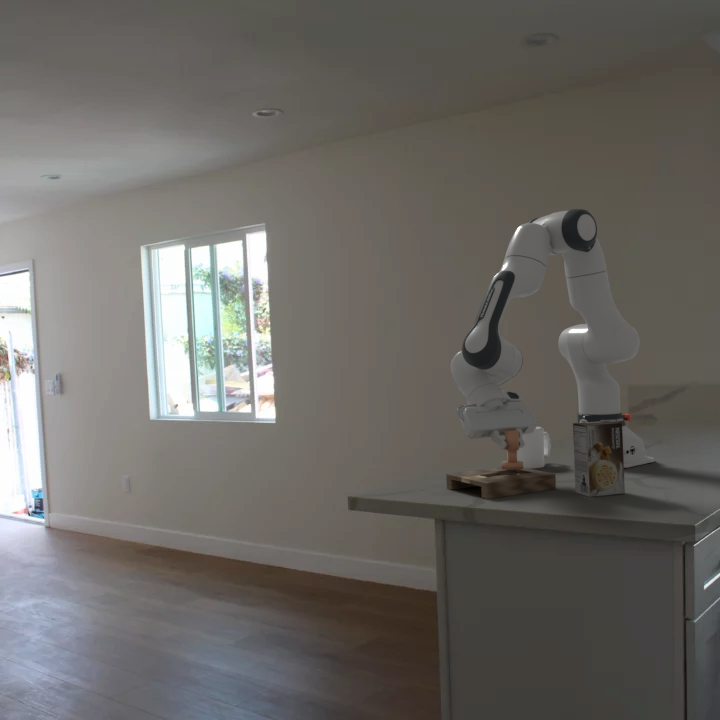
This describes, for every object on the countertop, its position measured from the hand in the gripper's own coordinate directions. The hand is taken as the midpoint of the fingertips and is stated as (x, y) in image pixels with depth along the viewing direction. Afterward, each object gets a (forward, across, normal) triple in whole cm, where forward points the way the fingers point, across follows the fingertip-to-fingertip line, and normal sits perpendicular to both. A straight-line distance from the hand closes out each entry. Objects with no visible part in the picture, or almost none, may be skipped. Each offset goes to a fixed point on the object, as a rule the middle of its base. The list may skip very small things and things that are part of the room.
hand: (513, 447), depth 192 cm
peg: (+3, 0, +4) cm, 5 cm away
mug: (-10, +24, +24) cm, 35 cm away
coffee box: (+19, +10, -5) cm, 22 cm away
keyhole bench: (+6, -4, +7) cm, 10 cm away
